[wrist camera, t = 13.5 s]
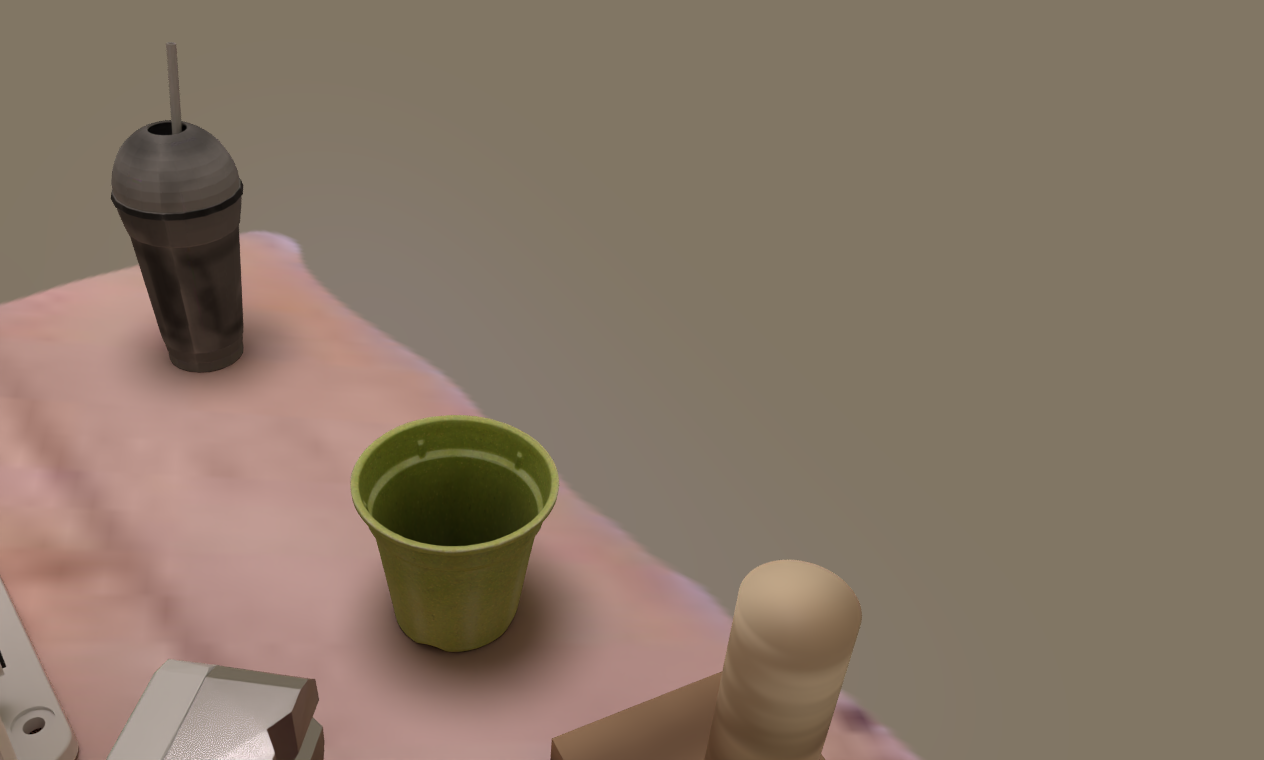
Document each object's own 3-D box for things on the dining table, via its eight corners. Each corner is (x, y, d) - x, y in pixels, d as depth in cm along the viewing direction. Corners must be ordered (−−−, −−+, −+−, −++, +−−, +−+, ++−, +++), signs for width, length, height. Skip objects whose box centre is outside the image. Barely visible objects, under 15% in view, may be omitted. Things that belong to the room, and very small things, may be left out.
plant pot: (500, 520, 60) (502, 394, 55) (584, 637, 54) (595, 508, 48) (335, 576, 55) (321, 446, 50) (406, 711, 49) (398, 578, 44)
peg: (665, 851, 45) (714, 580, 35) (745, 814, 46) (813, 546, 37) (715, 938, 42) (784, 670, 33) (799, 895, 44) (887, 628, 34)
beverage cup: (120, 358, 69) (48, 48, 57) (210, 309, 74) (161, 17, 62) (202, 399, 66) (144, 83, 55) (289, 346, 71) (253, 48, 60)
